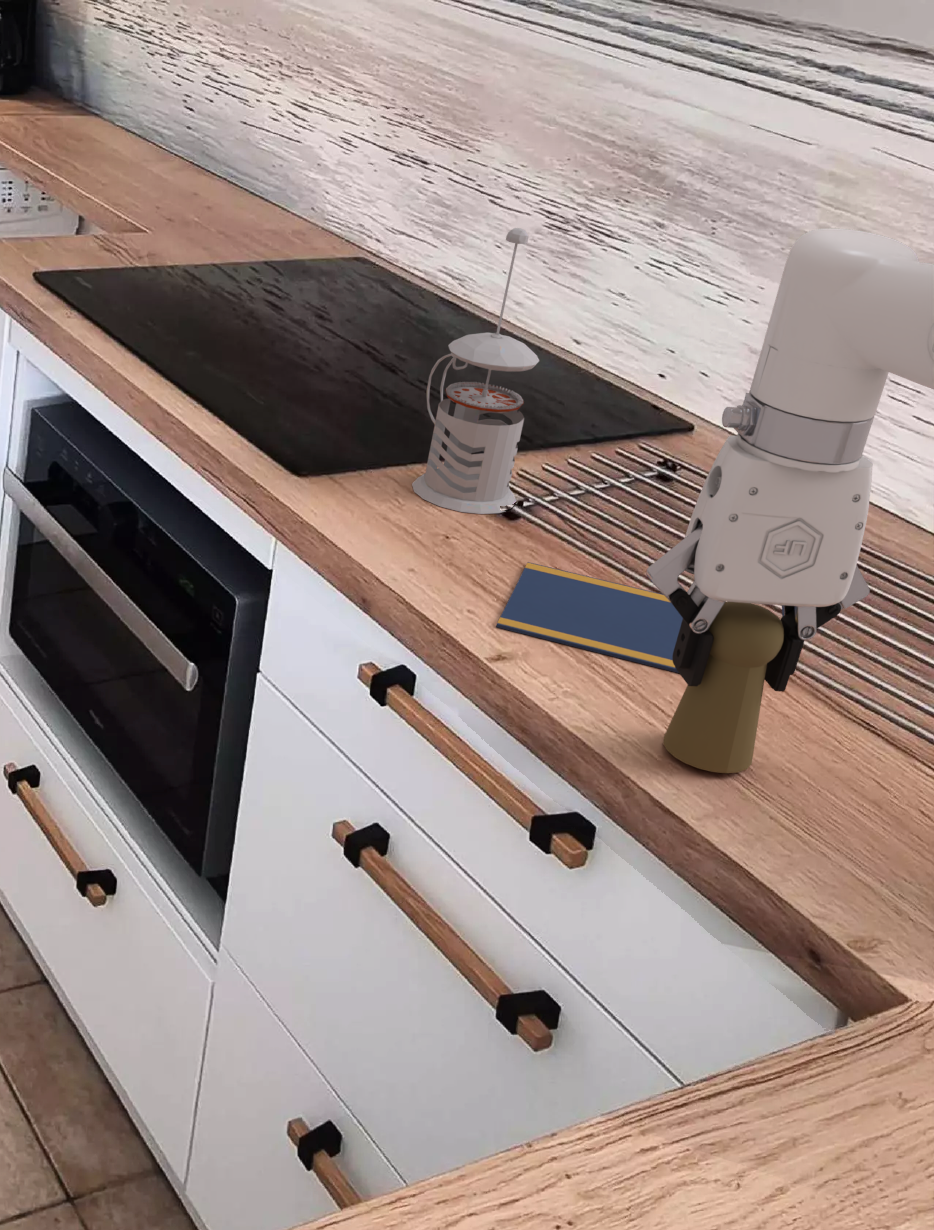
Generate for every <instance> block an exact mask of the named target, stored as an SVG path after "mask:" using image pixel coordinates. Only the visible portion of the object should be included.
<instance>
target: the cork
mask: <svg viewBox="0 0 934 1230" xmlns="http://www.w3.org/2000/svg"><path fill="white" fill-rule="evenodd" d="M709 631H710V632H711V633H712V635H713V637H714V640H713V644H712V647H711V651H710V654H709V658H708V661H707V665H706V668H705V671H704V675H703V678H702V682H701V684H700V685H698V686H688V684H686V688H685V689H684V692H683V694H682V696H681V699H680V700H679V703H678V705H677V707H676V709H675V711H674V714H673V715H672V717H671V720H670V723H669V725H668V727H667V729H666V731H665V733H664V735H663V739H662V744H663V747H664V748H665V750H666V751H667V752H668V753H669V754H670V755H672V757H674V758H675V759H677V760H679V761H681V762H682V763H684V764H686V765H689V766H691V767H694V768H696V769H699V770H703V771H708V772H711V773H719V774H735V773H740V772H743V771H746V770H748V769H749V768H750V767H751V766H752V765H753V758H754V751H755V746H756V745H755V744H756V739H757V732H758V725H759V720H760V719H759V718H760V712H761V705H762V699H763V693H764V686H765V673H766V667H767V663H768V662H769V661H771V660H772V659H773V658H774V657H775V656H776V655H777V654H778V652H779V651H780V649H781V647H782V644H783V639H784V628H783V625H782V622H781V618H779V616H778V615H776V614H775V613H774V612H773V611H771V610H770V609H768V608H766V607H763V606H761V605H759V604H754V603H739V602H727V601H726V602H725V604H724V605H723V607H722V608H721V610H720V611H719V613H718V614H717V616H716V618H715V619H714V621H713V622H712V624H711V625H710V627H709Z"/></svg>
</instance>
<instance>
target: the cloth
mask: <svg viewBox="0 0 934 1230" xmlns="http://www.w3.org/2000/svg"><path fill="white" fill-rule="evenodd" d="M682 619H683V618H682V616H681V615H680V614H679V613H678V611H677V610H676V609H675V607H674V606H673V605H672V603H671V602H670V601H669V600H668V599H667V598H666V597H665V596H664V595H663V594H662V593H661V592H656V591H651V590H648V589H642V588H639V587H634V586H630V585H626V584H622V583H616V582H613V581H609V580H606V579H601V578H597V577H592V576H589V575H585V574H580V573H577V572H576V573H575V572H572V571H568V570H563V569H559V568H555V567H550V566H546V565H542V564H538V563H535V562H534V563H533V562H529V561H527V562H526V565H525V567H524V568H523V570H522V572H521V574H520V577H519V579H518V581H517V582H516V585H515V586H514V588H513V590H512V593H511V595H510V597H509V599H508V601H507V603H506V605H505V606H504V609H503V611H502V613H501V615H500V617H499V618H498V621H497V623H496V625H495V627H496V628H497V629H501V630H506V631H511V632H514V633H518V634H522V635H525V636H529V637H534V638H538V639H542V640H546V641H549V642H552V643H553V642H554V643H558V644H562V645H566V646H569V647H574V648H577V649H581V650H586V651H590V652H593V653H598V654H601V655H604V656H610V657H613V658H617V659H621V660H625V661H629V662H634V663H638V664H640V665H644V666H649V667H653V668H657V669H660V670H665V671H667V672H668V671H669V672H673V673H676V674H679V672H678V671H677V669H676V668H675V665H674V664H673V660H672V657H673V651H674V648H675V644H676V641H677V637H678V634H679V630H680V627H681V623H682Z"/></svg>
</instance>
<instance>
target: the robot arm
mask: <svg viewBox="0 0 934 1230" xmlns="http://www.w3.org/2000/svg"><path fill="white" fill-rule="evenodd" d="M889 373H890V374H892V375H895V376H898V377H900V378H903V379H905V380H908V381H911V382H913V383H915V384H918V385H920V386H923V387H926V388H928V389H931V390H934V263H929V262H924V261H923V262H922V261H920V260H919V257H918V254H917V253H916V252H915V251H914V250H913V248H911V246H909V245H907V244H906V243H903V242H902V241H900V240H898V239H895V238H893V237H889V236H886V235H882V234H878V233H873V232H869V231H862V230H857V229H850V228H849V229H848V228H836V227H835V228H833V227H828V228H826V227H825V228H818V229H812V230H809V231H807V232H805V233H803V234H801V235H800V236H799V237H798V238H797V239H796V240H795V242H793V244H792V246H791V248H790V249H789V252H788V255H787V257H786V261H785V263H784V267H783V271H782V275H781V278H780V282H779V286H778V289H777V293H776V296H775V300H774V303H773V307H772V311H771V314H770V318H769V321H768V325H767V329H766V332H765V335H764V338H763V342H762V345H761V349H760V354H759V357H758V361H757V364H756V368H755V371H754V374H753V377H752V381H751V385H750V388H749V391H748V392H746V393H745V395H744V399H743V403H742V404H741V405H737V406H726V407H724V409H723V412H722V416H721V423H722V427H723V428H728V429H729V428H730V429H734V430H735V431H736V432H737V435H729V436H728V437H727V438H726V439H725V441H724V443H723V445H722V446H721V448H720V450H719V452H718V454H717V455H716V456H715V457H716V458H715V459H714V461H713V464H712V465H711V467H710V470H709V472H708V474H707V476H706V477H705V481H704V483H703V485H702V488H701V490H700V493H699V495H698V497H697V500H696V503H695V506H694V508H693V511H692V513H691V517H690V519H689V523H688V526H687V530H686V532H685V536H684V538H683V539H682V540H680V541H679V542H678V543H676V545H675V546H673V547H672V548H671V549H669V550H668V551H667V552H666V553H664V554H663V555H662V556H661V557H659V558H658V559H657V560H655V561H654V562H653V563H652V564H650V565H649V566H648V567H647V568H646V571H645V574H646V576H647V578H648V579H649V580H650V582H651V583H652V584H653V585H654V587H656V588H657V590H658V591H659V593H660V594H663V595H664V596H665V597H666V598H667V599H668V600H669V601H670V602H671V603H672V605H673V606H674V607H675V609H676V610H677V611H678V613H679V614H680V615H681V616H682V618H683V619H682V623H681V627H680V630H679V634H678V637H677V641H676V644H675V648H674V651H673V657H672V660H673V664H674V665H675V668H676V669H677V671H678V672H679V673H678V674H679V675H680V676H681V678H682V679H683V680H684V682H685V683H686V685H688V686H698V685H700V684H701V682H702V678H703V675H704V671H705V668H706V665H707V661H708V658H709V654H710V651H711V647H712V644H713V640H714V637H713V635H712V633H711V632H710V631H709V627H710V625H711V624H712V622H713V621H714V619H715V618H716V616H717V614H718V613H719V611H720V610H721V608H722V607H723V605H724V604H725V602H739V603H752V604H755V605H768V606H769V605H770V606H771V605H772V606H781V618H780V620H781V622H782V625H783V628H784V639H783V644H782V647H781V649H780V651H779V652H778V654H777V655H776V656H775V657H774V658H773V659H772V660H771V661H769V662H768V663H767V667H766V673H765V680H764V682H766V683H767V684H768V685H769V687H770V688H771V690H773V691H774V692H780V693H781V692H783V693H784V692H785V691H786V689H787V686H788V682H789V681H790V677H791V676H793V675H794V674H795V672H796V669H797V667H798V662H799V659H800V657H801V653H802V650H803V647H804V644H805V641H809V640H811V639H813V638H814V637H815V635H817V630H818V629H819V628H821V627H822V626H824V625H825V624H827V623H828V622H830V621H831V620H833V619H834V618H836V617H838V615H839V614H840V613H841V611H842V610H843V609H844V610H846V609H847V608H849V607H851V606H853V605H854V604H857V603H858V602H860V601H862V600H863V599H865V598H867V597H868V596H869V594H870V591H871V589H870V587H869V584H868V583H867V581H866V579H865V578H864V575H863V574H862V572H861V570H860V568H859V566H858V561H859V557H860V554H861V553H860V552H861V549H862V544H863V540H864V535H865V530H866V526H867V522H868V521H867V520H868V514H869V510H870V501H871V492H872V481H873V462H872V460H871V459H870V458H868V457H867V456H865V455H864V454H863V453H864V450H865V446H866V443H867V441H868V437H869V435H870V431H871V428H872V425H873V422H874V419H875V416H876V413H877V410H878V407H879V404H880V401H881V397H882V395H883V392H884V389H885V385H886V382H887V379H888V375H889ZM684 572H687V573H689V574H691V575H693V578H694V580H693V582H692V583H691V585H690V587H689V588H688V590H686V589H685V587H684V586H683V585H682V584H681V583H680V582H679V580H678V579H679V577H680V576H681V574H682V573H684Z"/></svg>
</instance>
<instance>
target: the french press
mask: <svg viewBox="0 0 934 1230" xmlns="http://www.w3.org/2000/svg"><path fill="white" fill-rule="evenodd" d="M505 241H506V242H508V243H511V244H514V247H513V252H512V256H511V262H510V265H509V266H510V268H509V271H508V275H507V280H506V285H505V291H504V296H503V298H502V299H503V300H502V305H501V310H500V314H499V319H498V324H497V328H496V332H489V331H488V332H487V331H486V332H480V333H471V334H466V335H464V336H462V337H459V338H457V339H454V340H452V341H451V342H450V343H449V344H448V346H447V347H448V349H449V351H450V353H448V354H445V355H443V356H441V357H440V358H438V359H437V361H436V362H435V364H434V365H433V367H432V368H431V370H430V374H429V375H428V381H427V386H426V387H427V388H426V407H427V411H428V415H429V417H430V420H431V421H432V423H433V424H434V427H433V432H432V437H431V442H430V448H429V452H428V457H427V463H426V467H425V472H423V474H421V475H419V476H418V477H417V478H415V480H414V481H413V482H412V483H411V486H412V490H413V492H414V493H415V494H416V495H418V496H419V497H420V498H421V499H423V500H425V501H426V502H429V503H430V504H433V505H435V506H438V507H440V508H444V509H448V510H452V511H456V512H460V513H467V514H468V513H469V514H479V515H489V514H490V515H491V514H501V513H504V512H505V511H501V510H500V506H506V505H512V504H514V503H515V502H516V501H517V499H516V497H515V494H514V492H513V491H512V490H511V489H510V481H511V480H512V476H513V471H512V470H513V469H514V467H515V457H516V456H517V455H518V443H519V442H520V440H521V435H522V431H523V427H524V422H525V417H524V414H523V412H521V411H520V410H519V409H520V408H521V407H522V406H523V405H524V404H525V401H524V398H523V397H522V396H521V395H520V393H518V392H515V391H514V390H511V389H508V388H507V387H506V388H505V387H502V385H501V386H498V385H496V386H495V384H489V383H490V378H491V373H492V371H499V372H524V371H529V370H532V369H534V367H535V366H537V364H538V363H539V362H540V358H539V356H538V354H536V353H535V352H534V351H533V350H532V349H531V348H530V347H529V346H528V345H526V343H524V342H522V341H520V340H518V339H515V338H514V337H511V336H509V335H505V334H504V335H503V334H501V333H500V330H501V327H502V326H501V325H502V320H503V316H504V311H505V306H506V301H507V296H508V292H509V288H510V283H511V277H512V273H513V272H512V271H513V269H514V262H515V258H516V254H517V249H518V245H526V244H527V243H528V241H529V234H528V232H527V230H526V229H524V228H520V227H514V228H512V229H510V230H509V231H507V234H506V237H505ZM450 357H452V358H451V360H450V361H449V362H448V364H447V365H446V367H445V368H444V371H443V373H442V379H441V382H440V387H439V394H440V402H439V403H438V406H437V412H436V415H435V417H434V415H433V413H432V410H431V405H430V391H431V390H430V388H431V384H432V383H431V382H432V377H433V374H434V372H435V370H436V369H437V367H438V366H439V364H440V363H441V362H442V361H444V360H445V359H446V358H450ZM457 359H458V360H459V361H461V362H464V363H465V364H464V365H462V366H456V362H457ZM469 364H470V365H471V366H476V367H478V368H482V369H486V370H488V371H487V376H486V381H485V383H484V382H482V383H481V382H477V381H462V382H461V381H459V382H454V383H451V384H449V385H448V386H447V387H446V388H444V387H445V381H446V376H447V372H448V370H449V368H450V366H451V365H452V369H454V370H455V371H458V370H463V369H466V368H468V365H469ZM444 392H445V394H446V397H447V398H445V399H444ZM451 402H453V403H455V407H454V413H453V416H452V415H450V414H449V410H450V406H451ZM489 413H490V414H501V415H503V416H505V417H506V418H508V419H509V420H511V424H508V423H505V422H504V421H503V420H501V419H492V418H485V419H480V420H479V418H480V415H485V414H489ZM446 430H447V431H448V432H449V436H447V435H446V433H445V431H446ZM443 443H444V444H445V445H446V450H445V449H444V448H443V446H442V445H443ZM440 456H441V457H442V458H443V459H444V461H443V462H442V461H441V460H440Z"/></svg>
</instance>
